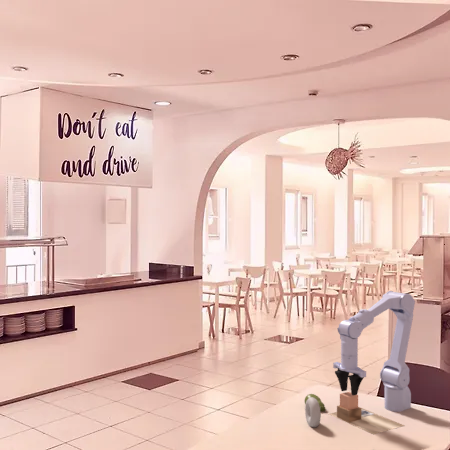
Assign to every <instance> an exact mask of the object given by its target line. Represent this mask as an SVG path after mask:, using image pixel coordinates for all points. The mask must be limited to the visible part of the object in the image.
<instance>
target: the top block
mask: <svg viewBox="0 0 450 450" xmlns="http://www.w3.org/2000/svg"><path fill="white" fill-rule="evenodd" d="M339 405H340V407H343V408H345V409H347V410H351V409H355V408H358V407H359V395H358V394H357V395H352V394H351V391H344V392H342V393H339Z"/></svg>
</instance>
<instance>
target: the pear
mask: <svg viewBox="0 0 450 450" xmlns="http://www.w3.org/2000/svg"><path fill="white" fill-rule="evenodd" d="M311 397H313V398H315V399H316V400H317V401H318V403H319V406H320V412H325V411H326V406H325V403H323V402H322V399H321V398H320V397H319V396H318V395H316V394H315V393H309V394H307V395H306V396H305V397H304V404H305V405H306V401H307V400H308V399H309V398H311Z"/></svg>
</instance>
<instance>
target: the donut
mask: <svg viewBox="0 0 450 450" xmlns="http://www.w3.org/2000/svg"><path fill="white" fill-rule="evenodd" d="M304 407H305V408H304V411H305V413H304V414H305V419H306V423H307V425H308V427H311V428H318V426H319V425H320V424H321V412H322V411H321V412H320V406H319V403H318V401H317V400H316V399H315V398H313V397H311V398H309V399H308V400H307V401H306V405H305V406H304Z"/></svg>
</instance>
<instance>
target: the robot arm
mask: <svg viewBox="0 0 450 450" xmlns="http://www.w3.org/2000/svg"><path fill="white" fill-rule="evenodd" d="M381 297H382V298H381V299H379V300H378V301H377V302H375V303H374V304H373V305H372V306H371V307H369V308H368V309H364V308H363V309H362V308H361V309H358V312H357V313H356V314H355V315H352V316H349V318H348V319H344V320H342V321H341V322H340V323H339V324H338V327H337V333H338V334H339V338H340V357H341V358H340V361H341V362H339V361H335V362H333V363H332V365H333V367H332V368H333V369H336V370H335V371H334V374H335V375H336V378H337V380H338V383H339V387H340V390H341V392H348V384H349V383H350V384H349V385H350V392H351V394H352V395H358V392H359V390H360V386H361V383H362V381H363V379H364V378H366V377H367V371H365V370H364V369H363V368H360V367H359V366H358V365H359V364H358V363H359V362H358V360H359V359H358V356H359V354H358V352H359V349H358V345H359V343H358V339H359V338H360V336H361V335H362V332H363V330H365V329H366V328H368V326H370V325H371V324H373V323H374V320H375V318H376V317H378V316H380V315H381V314H383V313H384V312H386V311H387V310H390V311H392V313H394V315H395V316H396V323H395V329H394V335H393V340H392V346H391V350H390V355H389V358H388V359H387V360H385V361H384V362H383V366H382V368H381V369H380V373H379V378H380V380H381V382H382V383H383V386H384V409H385V410H387V411H389V412H390V411H391V412H404V411H406V410H408V409H409V410H410V409H411V408H412V407H411V406H412V392H411V389H410V388H409V386H408V385H409V384H410V379H411V378H410V377H411V376H410V367H408V365H407V364H406V357H407V351H408V346H409V341H410V335H411V332H412V331H411V330H412V323H413V319H414V310H415V309H414V308H415V304H416V301H415V299H414V297H413V296H412V294H410V293H404V292H397V291H393V290H388V291H387V292H386V293H383V294H382V296H381ZM350 374H351V375H350ZM348 380H349V383H348Z"/></svg>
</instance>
